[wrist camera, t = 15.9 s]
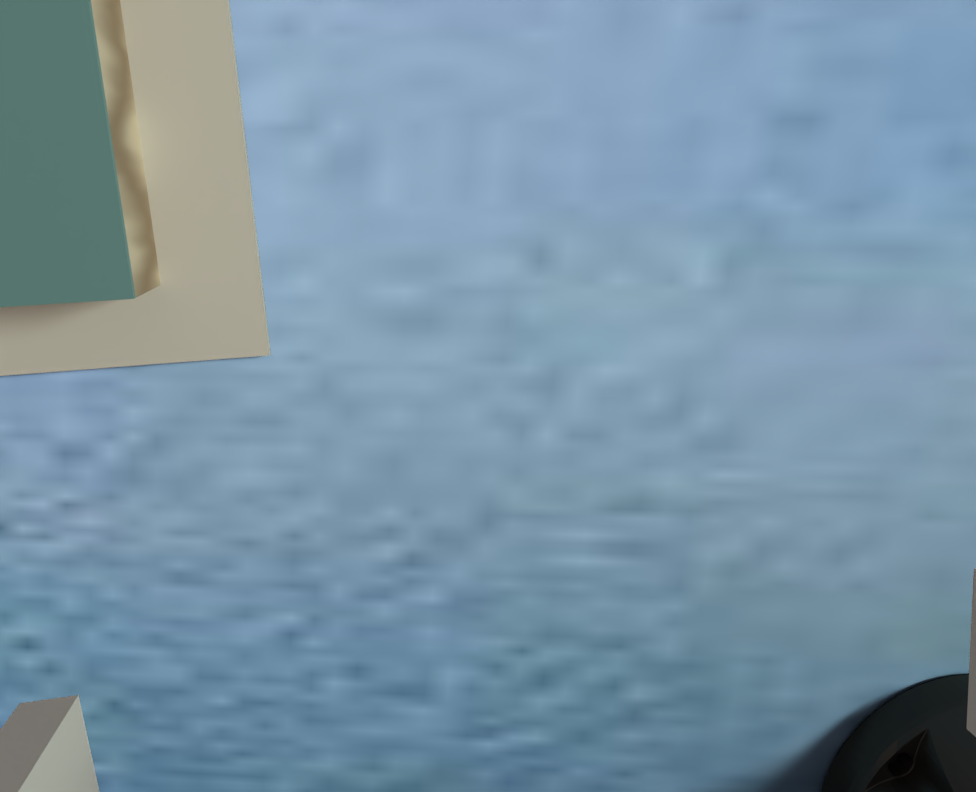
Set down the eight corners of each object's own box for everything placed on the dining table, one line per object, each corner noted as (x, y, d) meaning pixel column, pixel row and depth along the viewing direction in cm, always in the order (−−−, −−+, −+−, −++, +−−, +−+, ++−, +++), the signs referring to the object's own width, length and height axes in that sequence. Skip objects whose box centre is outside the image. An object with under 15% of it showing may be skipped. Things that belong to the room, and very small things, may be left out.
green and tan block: (133, 299, 31) (78, -68, 28) (-105, 314, 30) (-190, -65, 27) (160, 284, 35) (115, -36, 32) (-48, 297, 34) (-115, -32, 31)
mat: (270, 352, 37) (269, 355, 36) (-130, 383, 35) (-136, 386, 34) (215, -114, 32) (213, -118, 32) (-249, -109, 30) (-259, -114, 30)
